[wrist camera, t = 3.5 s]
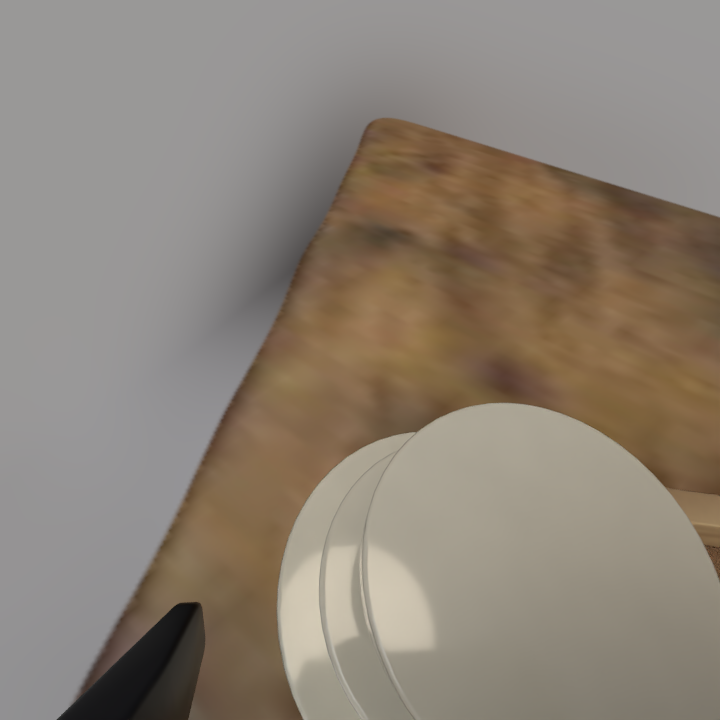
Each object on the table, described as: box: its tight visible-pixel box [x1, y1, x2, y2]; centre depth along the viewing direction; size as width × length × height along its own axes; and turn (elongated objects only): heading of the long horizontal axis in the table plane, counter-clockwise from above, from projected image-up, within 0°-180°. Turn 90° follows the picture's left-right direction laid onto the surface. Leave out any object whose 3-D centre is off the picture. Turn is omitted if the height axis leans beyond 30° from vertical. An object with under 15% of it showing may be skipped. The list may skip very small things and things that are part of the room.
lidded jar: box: [277, 403, 720, 720], centre depth 9 cm, size 6×6×13 cm
